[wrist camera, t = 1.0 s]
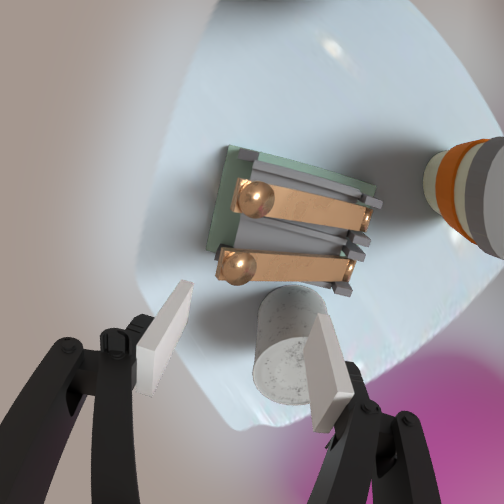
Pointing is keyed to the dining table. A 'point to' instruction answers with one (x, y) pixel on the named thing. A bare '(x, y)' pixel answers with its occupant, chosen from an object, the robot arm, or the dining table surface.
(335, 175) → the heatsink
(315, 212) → the strap
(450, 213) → the reusable coffee cup
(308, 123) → the dining table surface
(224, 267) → the strap
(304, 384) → the gray concrete cylinder
